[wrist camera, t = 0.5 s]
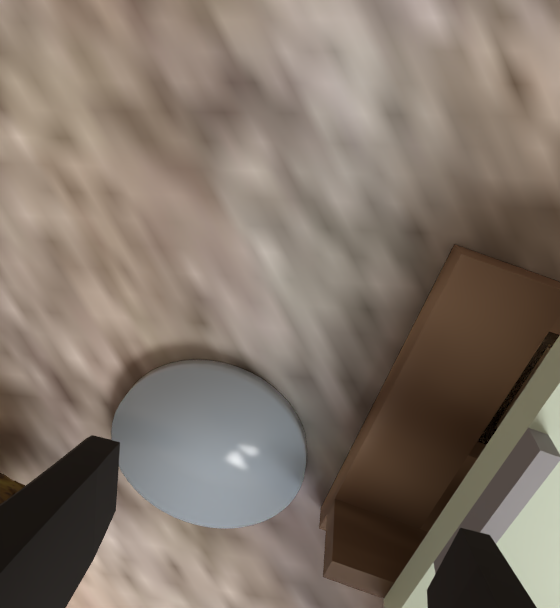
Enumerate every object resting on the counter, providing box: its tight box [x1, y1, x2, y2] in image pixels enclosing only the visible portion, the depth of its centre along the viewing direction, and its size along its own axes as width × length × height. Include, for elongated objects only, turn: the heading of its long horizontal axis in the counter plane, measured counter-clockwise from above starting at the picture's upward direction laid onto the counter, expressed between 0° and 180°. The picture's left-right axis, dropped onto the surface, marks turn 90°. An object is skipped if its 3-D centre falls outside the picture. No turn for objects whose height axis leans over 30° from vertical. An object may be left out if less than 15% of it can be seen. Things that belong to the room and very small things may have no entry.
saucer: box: [111, 360, 307, 528], centre depth 22 cm, size 9×9×1 cm
